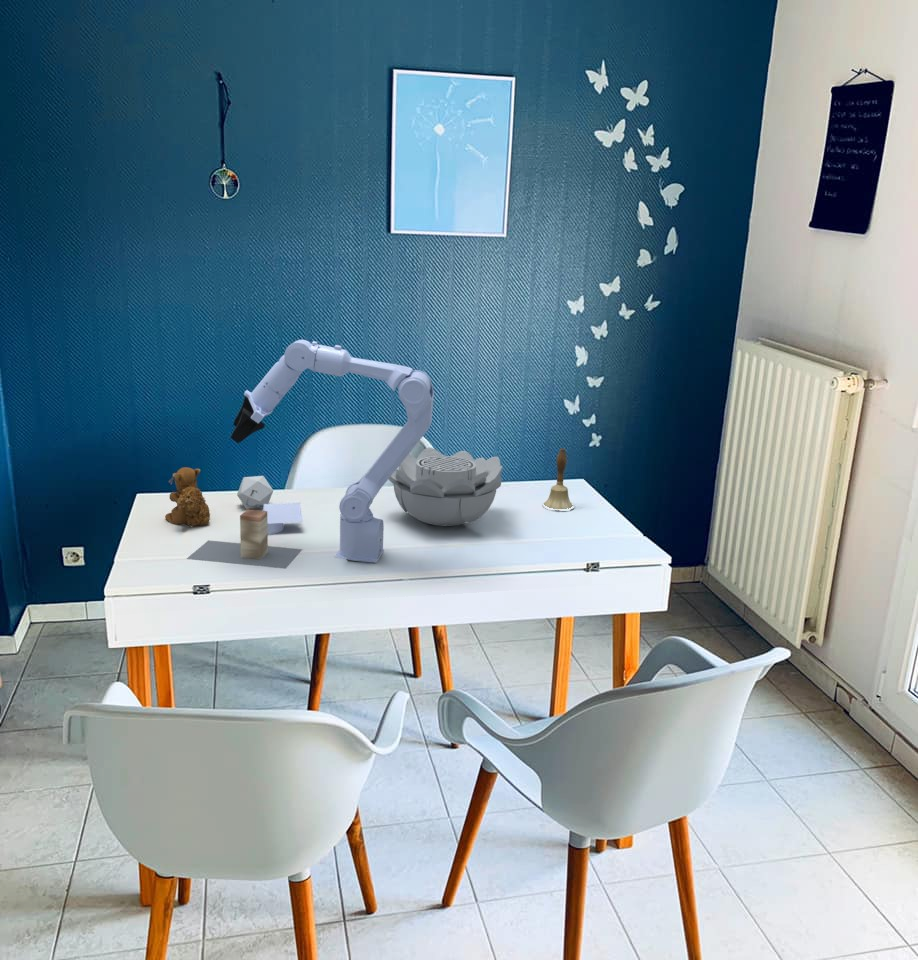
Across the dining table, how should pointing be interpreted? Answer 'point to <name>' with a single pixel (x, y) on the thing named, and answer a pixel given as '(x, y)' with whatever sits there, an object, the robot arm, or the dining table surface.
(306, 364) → the robot arm
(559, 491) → the hand bell
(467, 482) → the decorative bowl
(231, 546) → the rubber mat
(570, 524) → the dining table surface
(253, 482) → the die
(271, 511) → the wedge on round base
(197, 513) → the brown furry figure
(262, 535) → the maple block
